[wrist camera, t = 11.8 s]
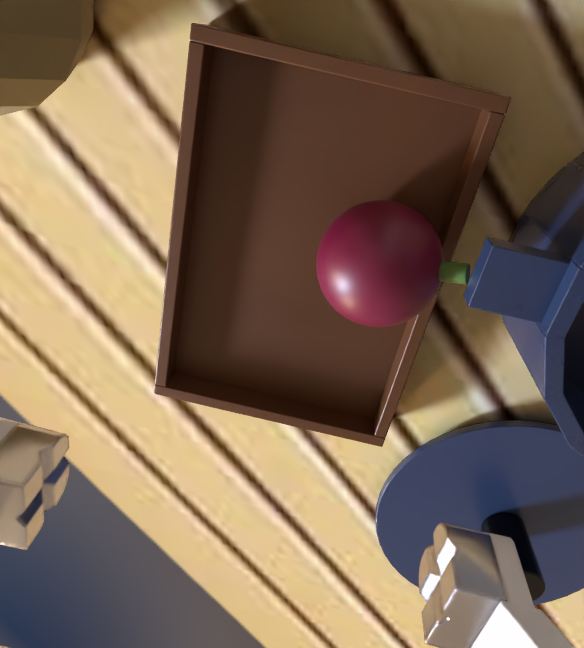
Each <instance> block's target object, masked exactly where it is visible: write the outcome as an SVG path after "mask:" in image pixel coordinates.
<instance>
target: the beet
mask: <svg viewBox="0 0 584 648" xmlns="http://www.w3.org/2000/svg"><path fill="white" fill-rule="evenodd" d="M316 270H317V278H318V281H319V285H320V288H321V290H322V292H323V294H324V296H325V298H326V299H327V301H328V302H329V303H330V305H331V306H332V307H333V308H334V309H335V310H336V311H337V312H338V313H340V314H341V315H342V316H344V317H345V318H347V319H349V320H351V321H352V322H355V323H358V324H361V325H365V326H369V327H388V326H394V325H398V324H401V323H404V322H406V321H408V320H410V319H412V318H413V317H415V316H416V315H418V314H419V313H420V312H421V311H423V310H424V309H425V308H426V307H427V306H428V304H429V303H430V302H431V301H432V299H433V298H434V296H435V295H436V293H437V291H438V289H439V287H440V284H441V281H442V282H451V283H460V284H467V283H468V281H469V277H470V264H469V263H459V262H449V261H444V253H443V248H442V245H441V241H440V239H439V237H438V235H437V232H436V231H435V229H434V228H433V226H432V225H431V223H430V222H429V221H428V220H427V219H426V218H425V217H424V216H423V215H422V214H420V213H419V212H418V211H416V210H414V209H413V208H411V207H409V206H407V205H404V204H402V203H398V202H395V201H387V200H374V201H368V202H365V203H361V204H358V205H356V206H353V207H351V208H349V209H348V210H346V211H345V212H343V213H342V214H341V215H339V216H338V217H337V218H336V219H335V220H334V221H333V222H332V223H331V225H330V226H329V227H328V229H327V230H326V232H325V234H324V235H323V237H322V239H321V242H320V245H319V248H318V252H317V259H316Z"/></svg>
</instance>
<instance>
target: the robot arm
mask: <svg viewBox="0 0 584 648" xmlns="http://www.w3.org/2000/svg"><path fill="white" fill-rule="evenodd" d="M68 449H69V436H67V435H66V434H63V433H59V432H56V431H52V430H48V429H44V428H40V427H36V426H33V425H29V424H25V423H19V422H16V421H12V420H8V419H4V418H0V544H2V545H6V546H11V547H16V548H20V549H25V550H27V548H28V547H29V545H30V544H31V542H32V541H33V539H34V538H35V536H36V534H37V533H38V532H39V530H40V528H41V527H42V526H43V524H44V512H46V511H47V510H49V509H51V508H53V507H55V505H56V504H57V502H58V501H59V498H60V497H61V496H62V493H63V491H64V488H65V486H66V483H67V479H68V474H69V463H68V461H67V460H66V458H65V457H64V455H65V453H66V452H67V450H68ZM433 538H434V544H432V545H430V546H428V547H426V549H425V551H424V553H423V556H422V558H421V563H420V568H419V591H420V594H421V595H422V597H423V598H424V599H425V601H426V602H427V603H426V605H425V607H424V609H423V611H422V620H423V628H424V637H425V644H428V645H432V646H435V647H439V648H575V647H574V646H573V645H572V644H571V643H570V642H569V641H568V639H567V638H566V637H565V636H564V635H563V634H562V633H561V631H560V630H559V629H558V628H557V627H556V626H555V625H554V623H553V622H552V621H551V620H550V619H549V618H548V617H547V616H546V614H545V613H544V612H543V611H542V610H539V609H535V608H534V604H533V601H532V598H531V595H530V592H529V588H528V585H527V582H526V579H525V575H524V572H523V569H522V566H521V563H520V559H519V556H518V553H517V550H516V547H515V543H514V541H513V540H512V539H511V538H509V537H505V536H501V535H496V534H492V533H485V532H483V531H478V530H474V529H470V528H465V527H461V526H456V525H452V524H447V523H443V522H441V523H439V524H438V525H437V527H436V529H435V531H434V532H433ZM0 648H9V647H5V646H0Z"/></svg>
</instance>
